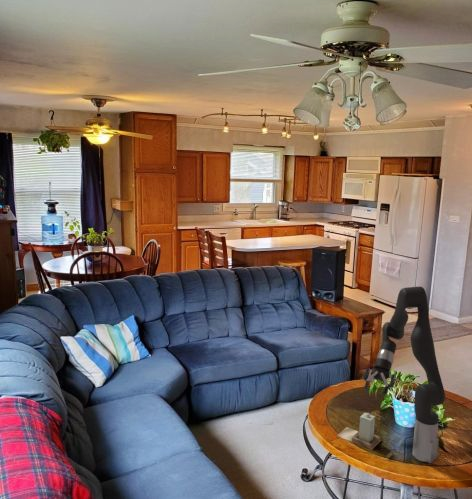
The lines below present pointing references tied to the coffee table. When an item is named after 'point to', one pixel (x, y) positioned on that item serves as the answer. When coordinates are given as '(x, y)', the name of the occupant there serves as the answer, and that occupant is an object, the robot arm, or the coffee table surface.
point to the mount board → (354, 437)
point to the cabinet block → (366, 427)
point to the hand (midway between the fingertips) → (375, 392)
